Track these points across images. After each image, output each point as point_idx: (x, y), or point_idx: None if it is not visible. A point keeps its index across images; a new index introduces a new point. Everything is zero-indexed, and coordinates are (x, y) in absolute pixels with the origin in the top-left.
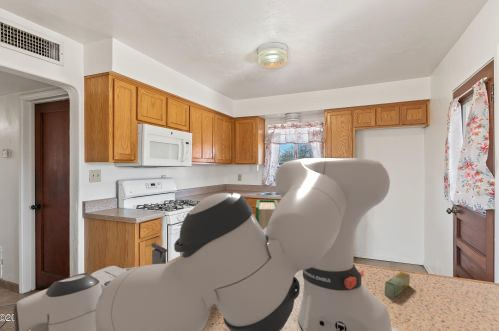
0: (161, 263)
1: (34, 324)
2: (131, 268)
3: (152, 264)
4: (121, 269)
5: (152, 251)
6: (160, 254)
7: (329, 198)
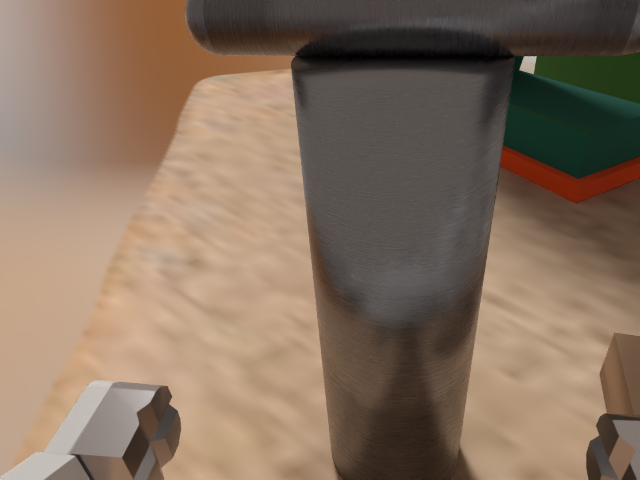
0: (490, 228)
1: None
2: (57, 468)
3: (370, 281)
4: None
5: (361, 87)
6: (508, 104)
7: None
